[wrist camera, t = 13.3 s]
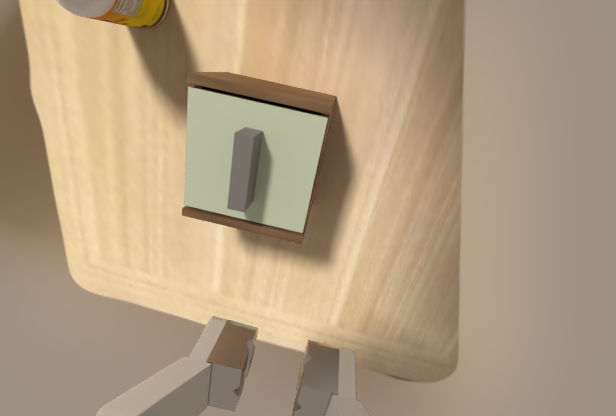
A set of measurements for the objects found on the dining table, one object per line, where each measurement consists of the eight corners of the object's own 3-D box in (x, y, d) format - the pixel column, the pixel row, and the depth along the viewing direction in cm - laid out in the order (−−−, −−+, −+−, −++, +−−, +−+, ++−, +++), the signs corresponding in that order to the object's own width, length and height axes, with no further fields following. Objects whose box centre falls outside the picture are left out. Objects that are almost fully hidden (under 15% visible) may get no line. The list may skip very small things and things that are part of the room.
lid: (191, 86, 24) (170, 88, 21) (328, 117, 24) (325, 123, 21) (187, 202, 28) (169, 217, 25) (303, 230, 28) (298, 247, 25)
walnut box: (227, 72, 31) (186, 72, 23) (336, 96, 30) (332, 104, 23) (218, 183, 36) (182, 215, 28) (311, 205, 35) (301, 243, 28)
